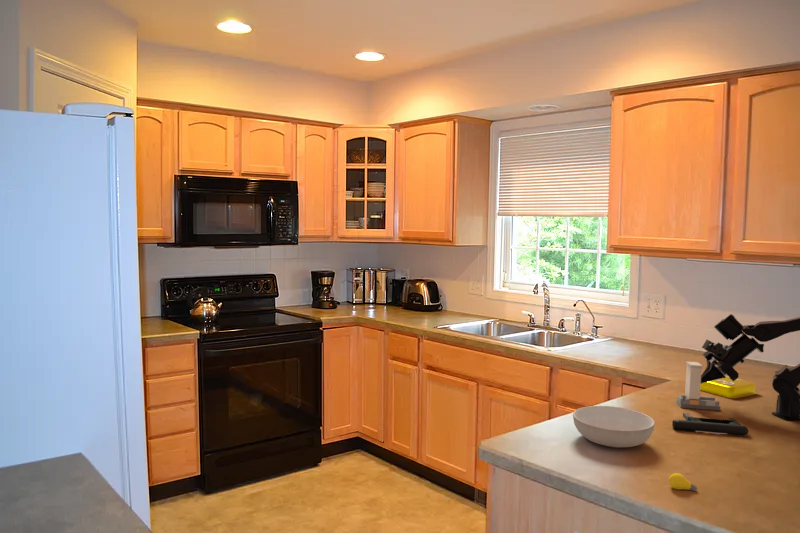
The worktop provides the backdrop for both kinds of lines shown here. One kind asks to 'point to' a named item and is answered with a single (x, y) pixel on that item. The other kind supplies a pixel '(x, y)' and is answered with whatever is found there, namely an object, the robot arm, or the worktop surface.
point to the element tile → (729, 387)
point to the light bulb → (681, 482)
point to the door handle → (710, 425)
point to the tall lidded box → (693, 380)
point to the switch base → (698, 403)
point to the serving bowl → (613, 425)
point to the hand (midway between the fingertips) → (699, 382)
